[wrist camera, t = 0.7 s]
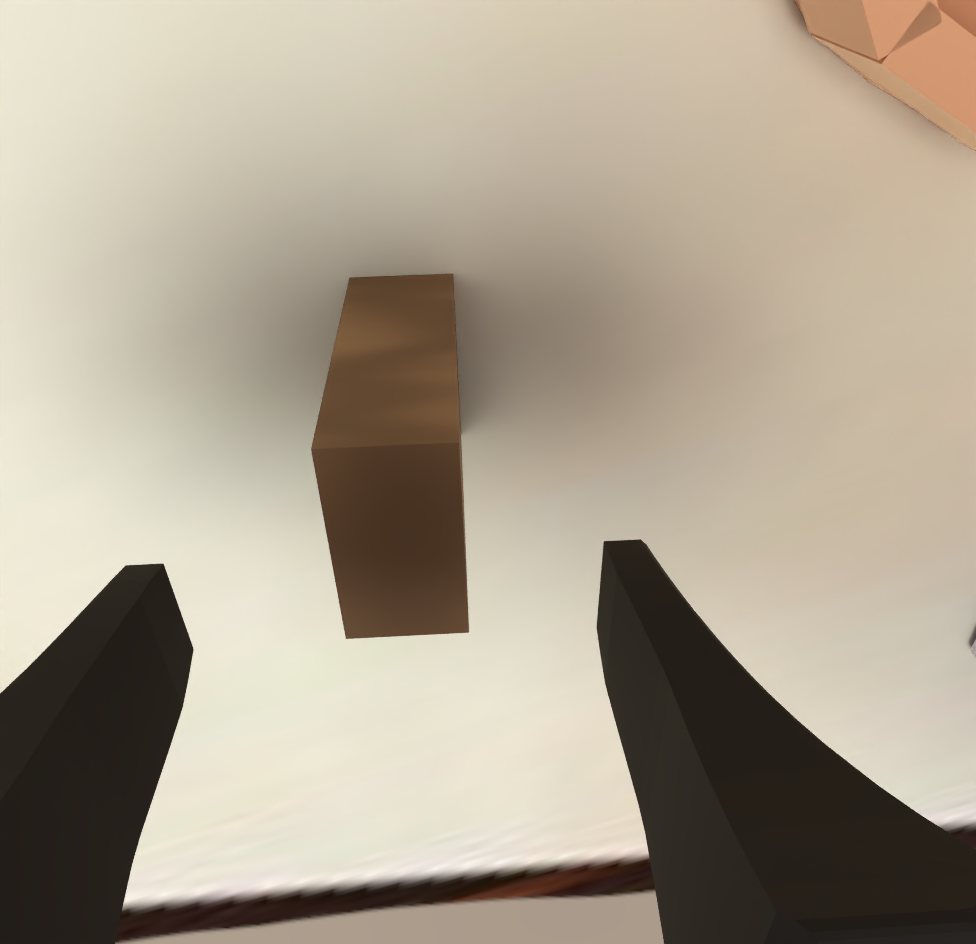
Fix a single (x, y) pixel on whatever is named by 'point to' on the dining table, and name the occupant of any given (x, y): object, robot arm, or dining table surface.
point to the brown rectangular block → (395, 460)
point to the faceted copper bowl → (908, 52)
